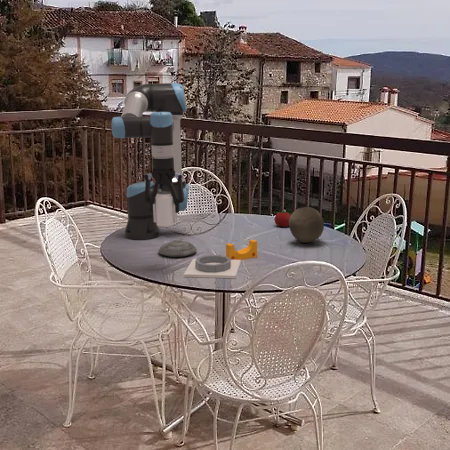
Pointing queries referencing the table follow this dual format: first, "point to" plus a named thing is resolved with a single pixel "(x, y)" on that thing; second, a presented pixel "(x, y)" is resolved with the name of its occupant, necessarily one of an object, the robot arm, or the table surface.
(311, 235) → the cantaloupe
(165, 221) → the can
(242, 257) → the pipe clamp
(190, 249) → the grey stepped dome
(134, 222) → the robot arm
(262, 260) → the table surface
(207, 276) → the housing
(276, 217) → the tomato
